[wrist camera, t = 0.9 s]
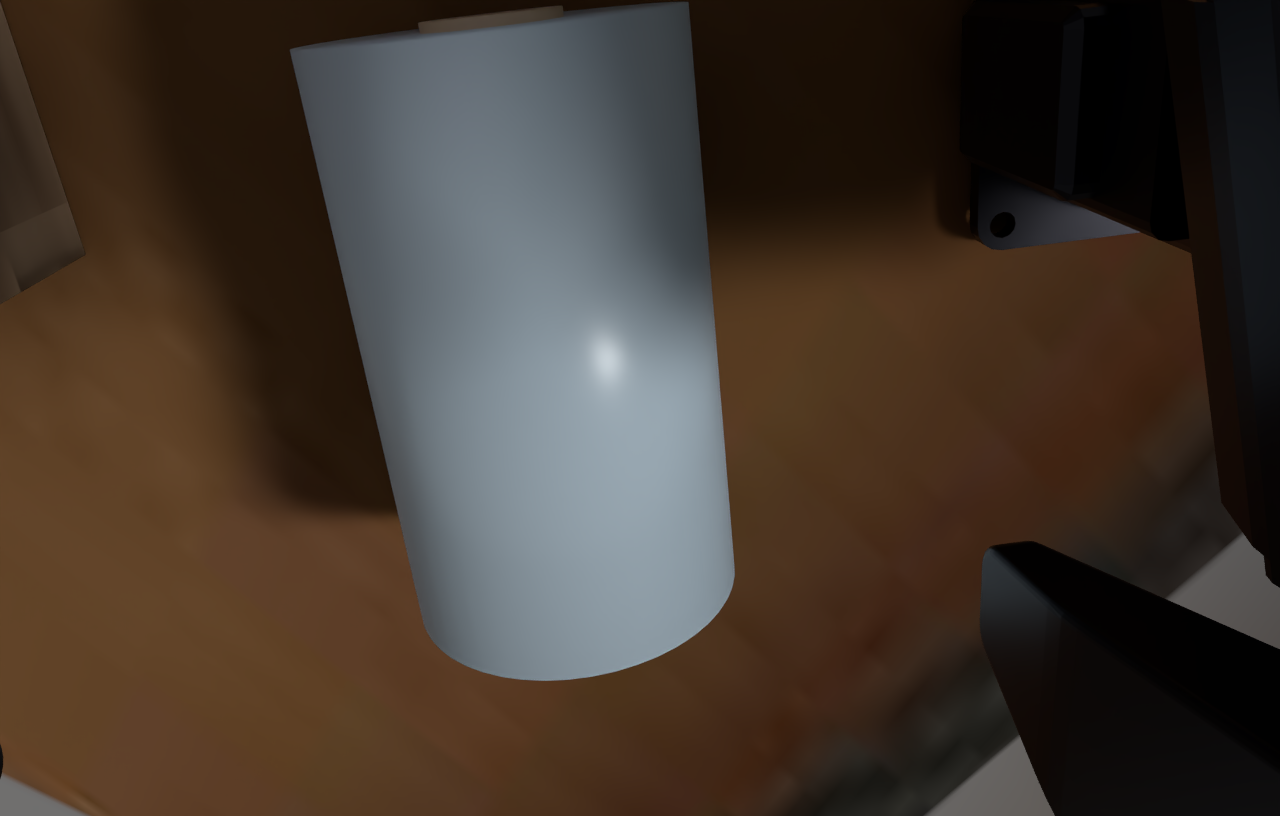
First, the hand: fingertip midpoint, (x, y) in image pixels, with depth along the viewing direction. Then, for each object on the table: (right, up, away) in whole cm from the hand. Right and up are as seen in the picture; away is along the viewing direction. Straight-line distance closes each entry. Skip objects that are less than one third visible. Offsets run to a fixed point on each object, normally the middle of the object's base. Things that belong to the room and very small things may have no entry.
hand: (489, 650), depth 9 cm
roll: (-1, +5, +11) cm, 12 cm away
